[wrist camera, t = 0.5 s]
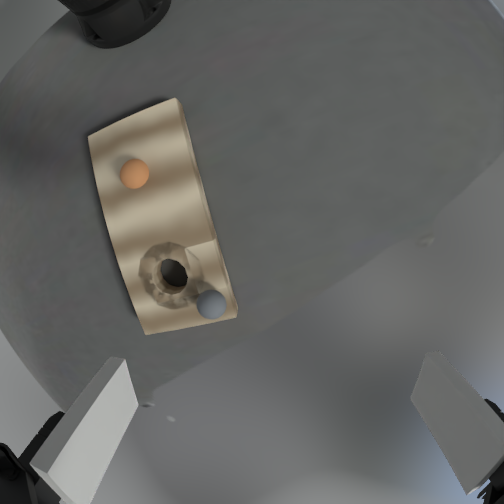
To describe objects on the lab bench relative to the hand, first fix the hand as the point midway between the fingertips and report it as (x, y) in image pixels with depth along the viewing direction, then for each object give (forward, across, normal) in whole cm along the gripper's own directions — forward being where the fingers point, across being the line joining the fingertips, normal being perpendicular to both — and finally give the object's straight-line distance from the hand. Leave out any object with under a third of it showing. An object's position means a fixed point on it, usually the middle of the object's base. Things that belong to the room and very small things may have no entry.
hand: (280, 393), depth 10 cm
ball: (+21, -15, +10) cm, 28 cm away
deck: (+26, -14, +4) cm, 29 cm away
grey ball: (+21, -6, -5) cm, 22 cm away
